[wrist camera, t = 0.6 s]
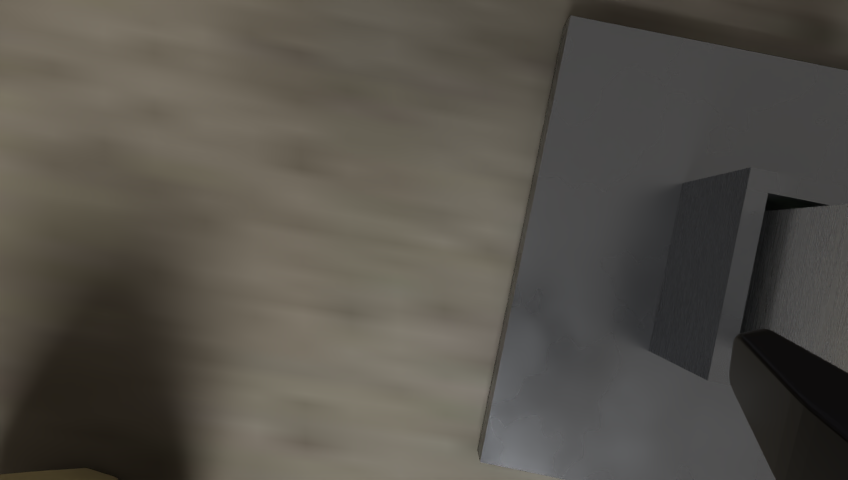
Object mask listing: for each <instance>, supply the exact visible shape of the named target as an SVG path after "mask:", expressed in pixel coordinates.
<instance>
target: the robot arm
mask: <svg viewBox="0 0 848 480" xmlns="http://www.w3.org/2000/svg"><path fill="white" fill-rule="evenodd" d="M729 380H730V385H731V387H732V390H733V392H734V395H735V397H736V399H737V401H738V403H739V405H740V407H741V409H742V411H743V413H744V415H745V417H746V419H747V421H748V424H749V426H750V428H751V430H752V432H753V434H754V436H755V438H756V440H757V442H758V444H759V446H760V448H761V451H762V453H763V455H764V457H765V459H766V461H767V463H768V465H769V467H770V469H771V471H772V473H773V475H774V477H775V479H776V480H848V372H846V371H844V370H842V369H840V368H839V367H837V366H835V365H833V364H831V363H830V362H828V361H826V360H824V359H822V358H821V357H819V356H817V355H815V354H813V353H812V352H810V351H808V350H806V349H804V348H803V347H801V346H799V345H797V344H795V343H794V342H792V341H790V340H788V339H786V338H785V337H783V336H781V335H779V334H777V333H776V332H774V331H772V330H769V329H764V328H763V329H756V330H752V331H748V332H743V333H740V334H737V335H736V337H735V338H734V341H733V347H732V354H731V361H730V369H729Z"/></svg>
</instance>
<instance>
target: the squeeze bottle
mask: <svg viewBox="0 0 848 480" xmlns="http://www.w3.org/2000/svg"><path fill="white" fill-rule="evenodd" d="M0 480H119V479H117V478H116V477H114V476H111V475H107V474H104V473H101V472H98V471H95V470H91V469H88V468H76V469H62V470H47V471H32V472H21V473H10V474H0Z"/></svg>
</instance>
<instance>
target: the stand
mask: <svg viewBox="0 0 848 480" xmlns="http://www.w3.org/2000/svg"><path fill="white" fill-rule="evenodd" d="M840 204H848V70H843V69H838V68H833V67H827V66H822V65H817V64H812V63H807V62H802V61H797V60H792V59H787V58H782V57H777V56H772V55H767V54H762V53H757V52H752V51H747V50H742V49H737V48H732V47H727V46H722V45H717V44H712V43H707V42H702V41H697V40H692V39H687V38H682V37H677V36H672V35H667V34H662V33H657V32H652V31H647V30H642V29H637V28H632V27H627V26H622V25H616V24H611V23H606V22H601V21H596V20H591V19H586V18H581V17H576V16H570V17H569V19H568V21H567V22H566V24H565V26H564V28H563V33H562V38H561V43H560V47H559V52H558V57H557V62H556V67H555V72H554V77H553V82H552V87H551V92H550V97H549V102H548V107H547V111H546V116H545V121H544V126H543V131H542V136H541V141H540V146H539V151H538V156H537V161H536V166H535V171H534V175H533V180H532V185H531V190H530V195H529V200H528V205H527V210H526V215H525V220H524V225H523V230H522V235H521V239H520V244H519V249H518V254H517V259H516V264H515V269H514V274H513V279H512V284H511V289H510V294H509V298H508V303H507V308H506V313H505V318H504V323H503V328H502V333H501V338H500V343H499V348H498V353H497V358H496V362H495V367H494V372H493V377H492V382H491V387H490V392H489V397H488V402H487V407H486V412H485V417H484V422H483V426H482V431H481V436H480V441H479V446H478V455H479V459H480V462H483V463H488V464H493V465H498V466H502V467H507V468H512V469H517V470H522V471H527V472H531V473H536V474H541V475H546V476H551V477H556V478H560V479H565V480H776V479H775V477H774V475H773V473H772V471H771V469H770V467H769V465H768V463H767V461H766V459H765V457H764V455H763V453H762V451H761V448H760V446H759V444H758V442H757V440H756V438H755V436H754V434H753V432H752V430H751V428H750V426H749V424H748V421H747V419H746V417H745V415H744V413H743V411H742V409H741V407H740V405H739V403H738V401H737V399H736V397H735V395H734V392H733V390H732V387H731V385H730V380H729V369H730V361H731V354H732V347H733V341H734V338H735V337H736V335H737V334H740V329H741V324H742V319H743V314H744V310H745V305H746V300H747V295H748V290H749V285H750V280H751V275H752V270H753V265H754V260H755V255H756V250H757V245H758V241H759V236H760V231H761V226H762V221H763V216H764V211H774V210H785V209H796V208H807V207H818V206H829V205H840Z"/></svg>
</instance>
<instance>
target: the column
mask: <svg viewBox="0 0 848 480" xmlns="http://www.w3.org/2000/svg"><path fill="white" fill-rule="evenodd" d="M763 328H764V329H769V330H772V331H774V332H776V333H777V334H779V335H781V336H783V337H785V338H786V339H788V340H790V341H792V342H794V343H795V344H797V345H799V346H801V347H803V348H804V349H806V350H808V351H810V352H812V353H813V354H815V355H817V356H819V357H821V358H822V359H824V360H826V361H828V362H830V363H831V364H833V365H835V366H837V367H839V368H840V369H842V370H844V371H846V372H848V204H840V205H829V206H818V207H807V208H796V209H785V210H774V211H764V216H763V221H762V226H761V231H760V236H759V241H758V245H757V250H756V255H755V260H754V265H753V270H752V275H751V280H750V285H749V290H748V295H747V300H746V305H745V310H744V314H743V319H742V324H741V329H740V333H743V332H748V331H752V330H756V329H763Z"/></svg>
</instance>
